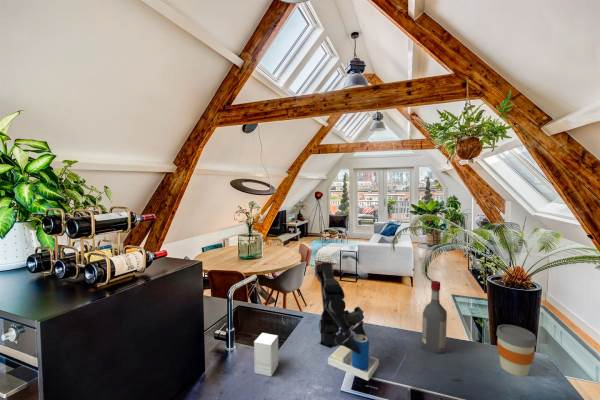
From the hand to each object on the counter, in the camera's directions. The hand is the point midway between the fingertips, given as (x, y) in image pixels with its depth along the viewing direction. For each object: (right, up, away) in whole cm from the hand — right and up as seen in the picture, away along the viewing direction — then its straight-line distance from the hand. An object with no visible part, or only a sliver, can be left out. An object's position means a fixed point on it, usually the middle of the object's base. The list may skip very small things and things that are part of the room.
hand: (363, 347), depth 111 cm
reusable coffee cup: (+60, -9, +2) cm, 61 cm away
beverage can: (-1, -9, +1) cm, 9 cm away
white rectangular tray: (-4, -9, +3) cm, 10 cm away
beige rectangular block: (-8, -8, +6) cm, 13 cm away
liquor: (+35, -9, +16) cm, 39 cm away
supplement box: (-38, -9, +1) cm, 39 cm away
